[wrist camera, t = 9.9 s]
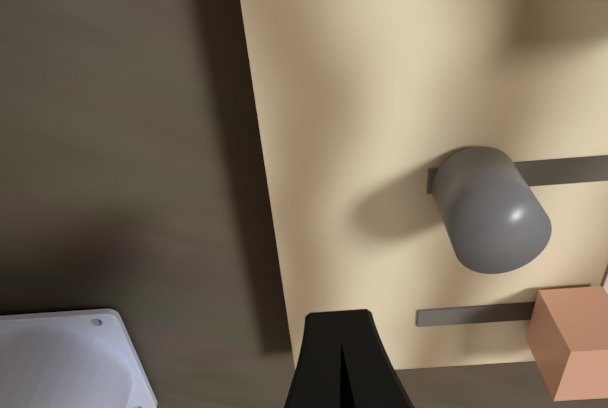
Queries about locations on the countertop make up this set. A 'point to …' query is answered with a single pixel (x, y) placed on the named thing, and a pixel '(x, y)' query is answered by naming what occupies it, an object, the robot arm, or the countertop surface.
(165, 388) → the countertop surface
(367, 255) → the control board
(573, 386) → the matte peach cube
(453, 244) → the charcoal knob
